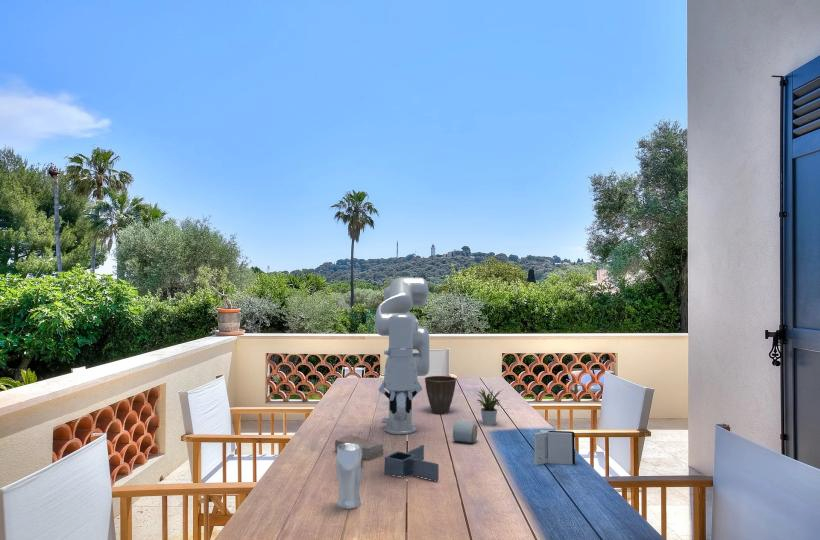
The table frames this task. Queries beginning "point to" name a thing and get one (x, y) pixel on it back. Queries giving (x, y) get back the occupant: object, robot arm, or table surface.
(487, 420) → the house plant
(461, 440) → the ceramic mug
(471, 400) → the table surface
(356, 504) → the beer glass
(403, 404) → the hinge pin
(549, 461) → the hinge
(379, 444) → the brick
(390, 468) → the grey cross-shaped holder
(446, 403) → the plant pot
